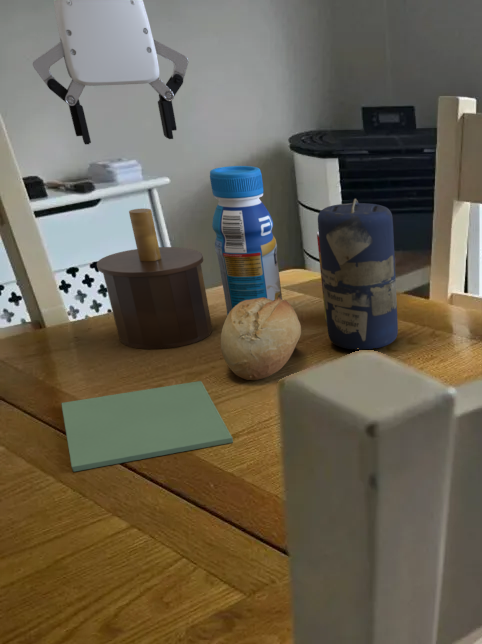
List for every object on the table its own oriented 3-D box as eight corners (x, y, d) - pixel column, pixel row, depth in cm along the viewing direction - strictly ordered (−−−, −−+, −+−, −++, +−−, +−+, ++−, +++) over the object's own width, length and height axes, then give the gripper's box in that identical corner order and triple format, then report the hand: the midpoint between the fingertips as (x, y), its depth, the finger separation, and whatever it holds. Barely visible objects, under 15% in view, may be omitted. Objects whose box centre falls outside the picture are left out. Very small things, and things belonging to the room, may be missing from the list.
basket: (125, 354, 110) (107, 280, 104) (115, 327, 119) (98, 258, 114) (219, 340, 114) (207, 269, 109) (203, 315, 124) (190, 248, 118)
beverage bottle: (217, 321, 121) (190, 169, 110) (267, 309, 126) (246, 162, 114) (246, 334, 116) (221, 176, 104) (297, 321, 121) (279, 169, 109)
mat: (73, 472, 82) (71, 466, 82) (62, 407, 96) (61, 402, 95) (233, 442, 87) (232, 437, 87) (202, 385, 101) (201, 380, 100)
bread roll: (311, 343, 113) (304, 283, 108) (295, 384, 101) (286, 318, 96) (241, 344, 113) (231, 284, 108) (216, 385, 101) (204, 319, 96)
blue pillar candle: (318, 352, 110) (302, 205, 99) (342, 330, 117) (330, 190, 107) (387, 357, 108) (378, 207, 97) (407, 334, 115) (401, 193, 105)
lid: (104, 287, 104) (88, 225, 100) (94, 262, 114) (80, 206, 110) (213, 274, 109) (202, 215, 104) (194, 251, 119) (184, 197, 115)
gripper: (166, -34, 97) (194, 132, 107) (6, -35, 91) (52, 141, 101) (176, -37, 91) (205, 139, 101) (6, -38, 86) (54, 149, 96)
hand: (128, 140), depth 101 cm, fingers open, 9 cm apart
